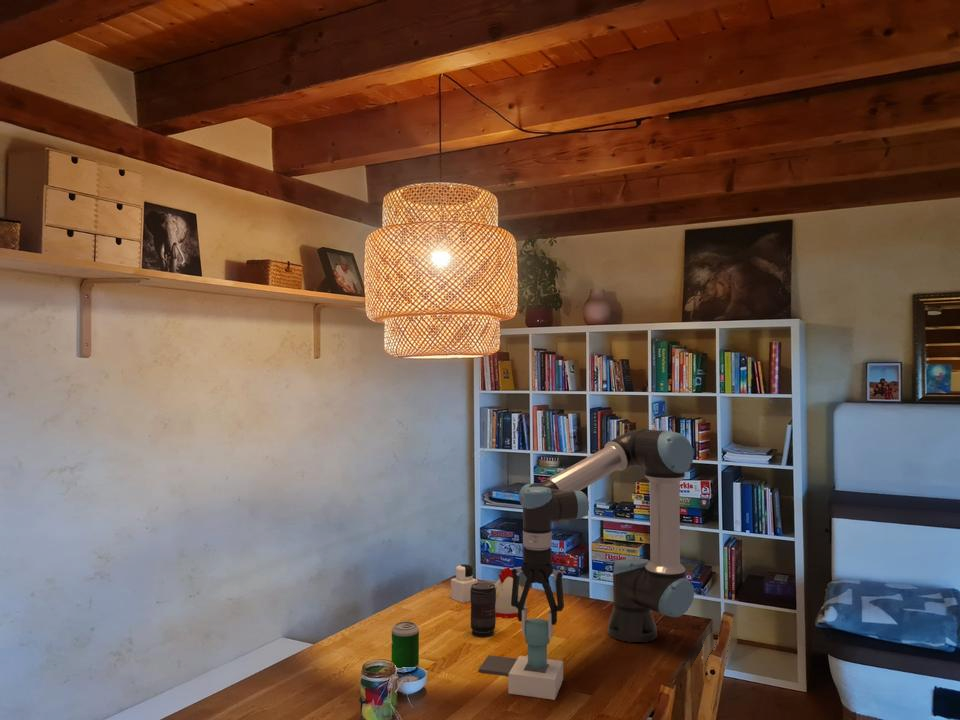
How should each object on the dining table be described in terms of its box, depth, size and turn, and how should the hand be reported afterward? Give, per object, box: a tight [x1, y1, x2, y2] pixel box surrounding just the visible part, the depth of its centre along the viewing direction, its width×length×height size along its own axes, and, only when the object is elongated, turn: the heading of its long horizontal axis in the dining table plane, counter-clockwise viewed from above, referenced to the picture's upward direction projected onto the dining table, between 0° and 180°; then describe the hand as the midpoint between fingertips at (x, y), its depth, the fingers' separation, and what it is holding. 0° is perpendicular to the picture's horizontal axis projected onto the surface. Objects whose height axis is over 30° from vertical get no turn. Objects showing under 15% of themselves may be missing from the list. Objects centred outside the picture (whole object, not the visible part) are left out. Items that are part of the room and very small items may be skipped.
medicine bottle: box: [450, 564, 479, 604], centre depth 255 cm, size 7×7×12 cm
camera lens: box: [469, 581, 497, 638], centre depth 222 cm, size 8×8×15 cm
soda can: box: [391, 621, 420, 668], centre depth 195 cm, size 8×8×12 cm
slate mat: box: [478, 654, 518, 677], centre depth 196 cm, size 10×10×1 cm
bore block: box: [507, 655, 564, 701], centre depth 184 cm, size 12×12×5 cm
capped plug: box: [524, 618, 551, 669], centre depth 185 cm, size 6×6×11 cm
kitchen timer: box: [493, 566, 528, 619], centre depth 242 cm, size 14×14×15 cm
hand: (537, 634), depth 185 cm, fingers closed on capped plug, 6 cm apart
